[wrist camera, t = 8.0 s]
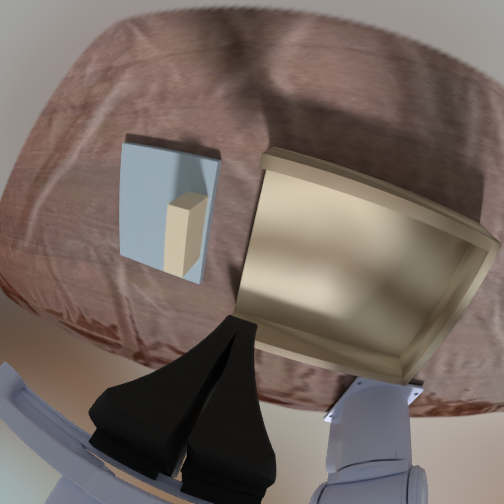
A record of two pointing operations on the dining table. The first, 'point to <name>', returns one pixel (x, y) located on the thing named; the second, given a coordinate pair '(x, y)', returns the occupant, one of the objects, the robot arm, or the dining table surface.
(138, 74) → the dining table surface
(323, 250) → the birch box
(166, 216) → the cover plate
